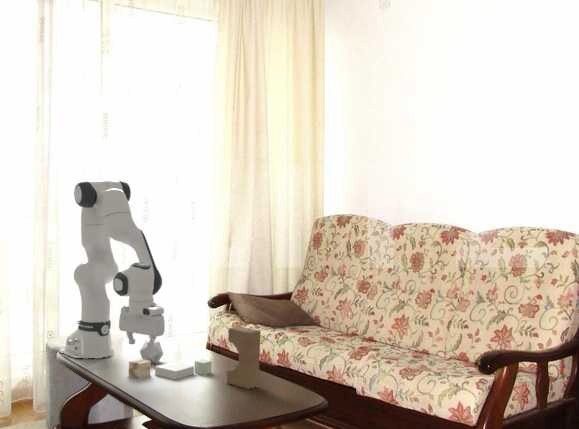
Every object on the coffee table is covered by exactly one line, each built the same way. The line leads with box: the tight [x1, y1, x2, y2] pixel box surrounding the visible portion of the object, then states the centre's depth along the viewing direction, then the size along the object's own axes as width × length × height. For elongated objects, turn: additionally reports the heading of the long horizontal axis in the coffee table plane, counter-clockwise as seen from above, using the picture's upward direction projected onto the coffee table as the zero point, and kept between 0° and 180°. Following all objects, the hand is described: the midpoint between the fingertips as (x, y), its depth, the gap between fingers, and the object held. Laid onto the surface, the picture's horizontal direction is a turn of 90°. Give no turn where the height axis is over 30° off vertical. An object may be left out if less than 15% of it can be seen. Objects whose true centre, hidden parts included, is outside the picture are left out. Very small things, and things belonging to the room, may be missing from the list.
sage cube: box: [194, 358, 213, 376], centre depth 274 cm, size 4×4×4 cm
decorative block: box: [226, 326, 261, 390], centre depth 259 cm, size 11×6×20 cm, turn 48°
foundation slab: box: [154, 361, 195, 380], centre depth 270 cm, size 10×10×3 cm
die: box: [139, 340, 164, 365], centre depth 286 cm, size 8×9×10 cm
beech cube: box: [128, 358, 152, 380], centre depth 266 cm, size 6×6×6 cm
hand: (141, 345), depth 265 cm, fingers open, 8 cm apart
